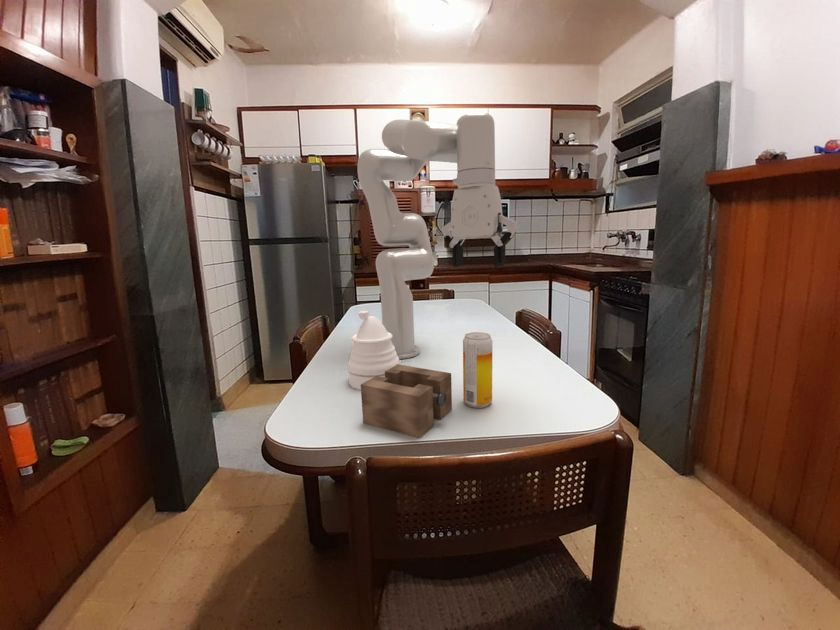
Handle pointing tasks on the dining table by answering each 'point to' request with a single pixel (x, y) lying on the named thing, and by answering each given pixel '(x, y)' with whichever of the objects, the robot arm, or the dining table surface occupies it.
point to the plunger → (439, 399)
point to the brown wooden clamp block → (405, 399)
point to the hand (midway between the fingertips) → (478, 266)
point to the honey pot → (370, 351)
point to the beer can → (477, 369)
